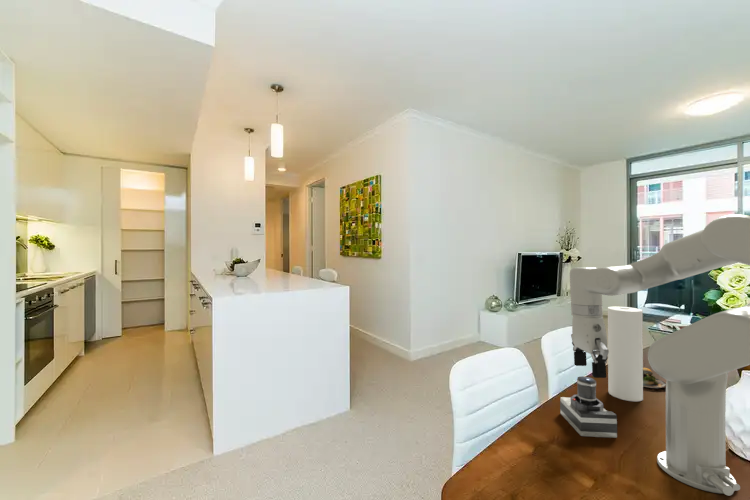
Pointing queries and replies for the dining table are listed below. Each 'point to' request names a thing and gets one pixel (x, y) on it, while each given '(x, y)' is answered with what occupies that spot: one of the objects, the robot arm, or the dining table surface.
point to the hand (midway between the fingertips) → (589, 371)
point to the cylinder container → (625, 353)
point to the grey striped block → (589, 418)
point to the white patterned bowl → (651, 380)
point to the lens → (586, 390)
